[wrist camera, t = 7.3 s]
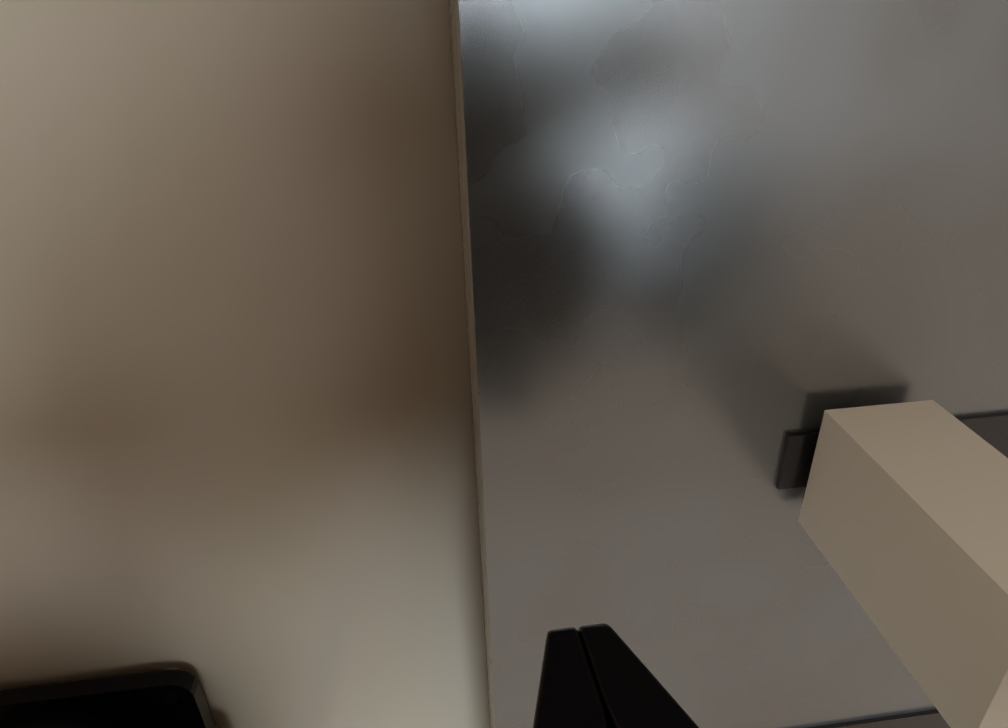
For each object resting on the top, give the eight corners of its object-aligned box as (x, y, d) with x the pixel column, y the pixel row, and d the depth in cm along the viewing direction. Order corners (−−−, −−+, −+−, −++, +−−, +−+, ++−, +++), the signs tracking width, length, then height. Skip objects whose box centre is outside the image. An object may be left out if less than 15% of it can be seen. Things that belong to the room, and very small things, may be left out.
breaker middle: (798, 521, 13) (967, 750, 9) (825, 409, 12) (1033, 619, 8) (897, 510, 13) (1103, 730, 9) (933, 399, 12) (1188, 599, 8)
